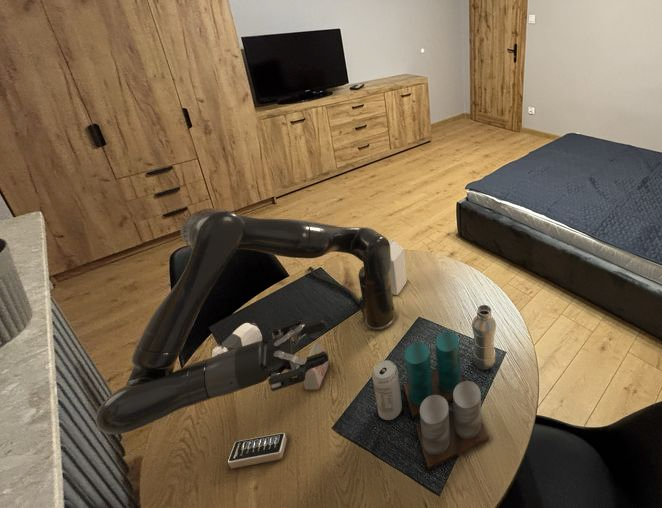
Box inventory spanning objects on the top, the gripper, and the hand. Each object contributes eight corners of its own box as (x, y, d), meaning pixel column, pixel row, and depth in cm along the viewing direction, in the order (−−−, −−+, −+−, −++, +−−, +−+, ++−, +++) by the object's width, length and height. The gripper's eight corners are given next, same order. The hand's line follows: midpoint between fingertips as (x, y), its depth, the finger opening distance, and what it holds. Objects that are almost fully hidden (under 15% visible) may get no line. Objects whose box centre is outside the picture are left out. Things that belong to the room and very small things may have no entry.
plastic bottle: (494, 375, 102) (495, 321, 94) (470, 370, 103) (469, 317, 95) (497, 354, 107) (498, 302, 100) (474, 351, 109) (474, 299, 101)
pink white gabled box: (305, 389, 98) (298, 363, 95) (315, 366, 105) (309, 340, 101) (318, 389, 98) (312, 363, 94) (328, 366, 105) (322, 341, 101)
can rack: (413, 418, 91) (408, 373, 85) (403, 387, 99) (398, 343, 92) (467, 394, 97) (467, 350, 90) (454, 365, 104) (453, 323, 98)
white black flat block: (281, 459, 83) (279, 452, 83) (229, 468, 82) (227, 462, 81) (287, 438, 87) (285, 432, 87) (237, 447, 86) (235, 441, 85)
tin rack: (428, 470, 81) (425, 436, 76) (416, 430, 89) (413, 397, 84) (488, 439, 87) (489, 405, 82) (472, 404, 94) (472, 371, 89)
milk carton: (406, 282, 136) (402, 239, 128) (397, 295, 130) (392, 251, 122) (389, 278, 138) (384, 236, 131) (379, 291, 132) (374, 247, 124)
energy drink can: (407, 406, 94) (402, 365, 88) (390, 427, 89) (384, 385, 83) (390, 394, 97) (384, 353, 91) (373, 413, 92) (366, 372, 86)
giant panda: (254, 337, 114) (247, 313, 110) (267, 342, 112) (260, 319, 108) (208, 377, 102) (198, 353, 98) (221, 385, 100) (212, 360, 96)
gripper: (227, 387, 64) (325, 353, 70) (237, 327, 76) (320, 302, 82) (238, 415, 67) (332, 380, 73) (246, 353, 79) (325, 327, 85)
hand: (325, 339), depth 77 cm, fingers open, 8 cm apart
